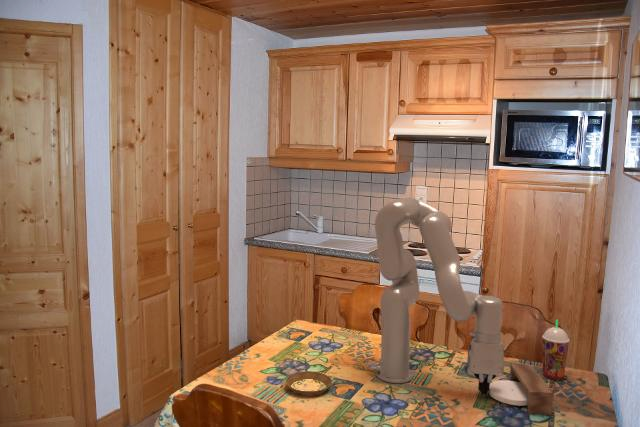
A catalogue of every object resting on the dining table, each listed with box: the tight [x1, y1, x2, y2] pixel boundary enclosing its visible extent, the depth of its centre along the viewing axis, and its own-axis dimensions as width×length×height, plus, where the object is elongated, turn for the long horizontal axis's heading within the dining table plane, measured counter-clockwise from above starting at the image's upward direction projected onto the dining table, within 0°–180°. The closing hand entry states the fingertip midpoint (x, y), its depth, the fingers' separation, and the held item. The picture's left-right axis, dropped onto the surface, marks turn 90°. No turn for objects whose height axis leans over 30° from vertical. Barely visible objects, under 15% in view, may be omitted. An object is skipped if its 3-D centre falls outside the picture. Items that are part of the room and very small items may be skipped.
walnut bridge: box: [509, 363, 554, 416], centre depth 162 cm, size 6×20×7 cm, turn 176°
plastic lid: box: [488, 379, 528, 406], centre depth 163 cm, size 14×14×2 cm
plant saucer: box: [285, 370, 333, 396], centre depth 168 cm, size 15×15×3 cm
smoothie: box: [542, 319, 570, 381], centre depth 177 cm, size 8×8×20 cm
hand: (483, 392), depth 164 cm, fingers closed
